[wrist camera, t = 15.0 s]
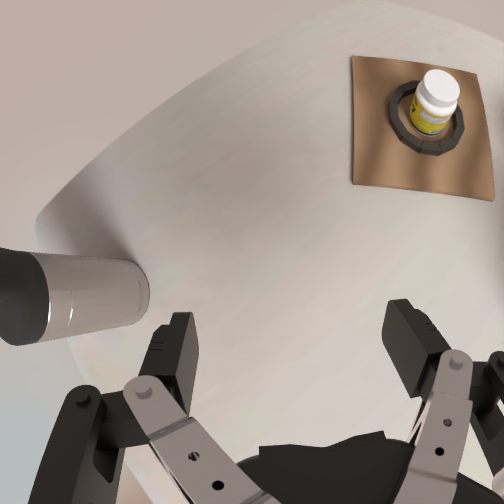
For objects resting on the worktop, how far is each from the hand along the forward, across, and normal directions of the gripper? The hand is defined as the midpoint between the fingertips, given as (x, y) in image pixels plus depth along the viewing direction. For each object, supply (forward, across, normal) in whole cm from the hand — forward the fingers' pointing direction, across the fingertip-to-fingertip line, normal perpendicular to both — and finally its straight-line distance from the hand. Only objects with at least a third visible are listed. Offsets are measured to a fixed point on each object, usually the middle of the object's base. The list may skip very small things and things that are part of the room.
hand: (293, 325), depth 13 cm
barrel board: (+26, -20, -8) cm, 34 cm away
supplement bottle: (+25, -20, -8) cm, 33 cm away
